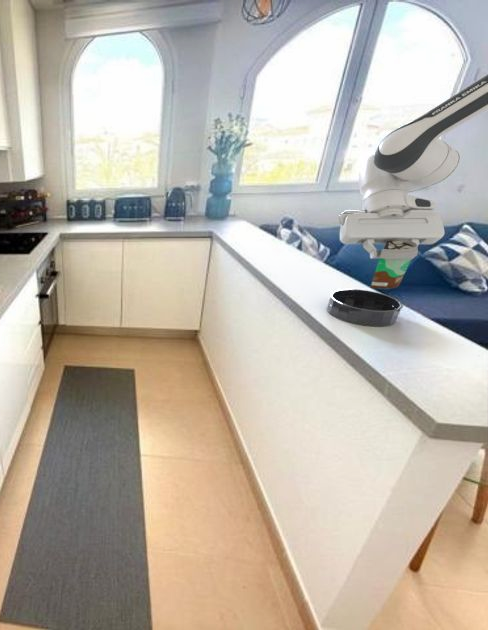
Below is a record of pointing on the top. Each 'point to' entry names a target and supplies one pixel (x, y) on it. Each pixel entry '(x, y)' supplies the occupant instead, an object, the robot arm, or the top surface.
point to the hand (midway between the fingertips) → (392, 257)
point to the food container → (393, 263)
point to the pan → (364, 307)
